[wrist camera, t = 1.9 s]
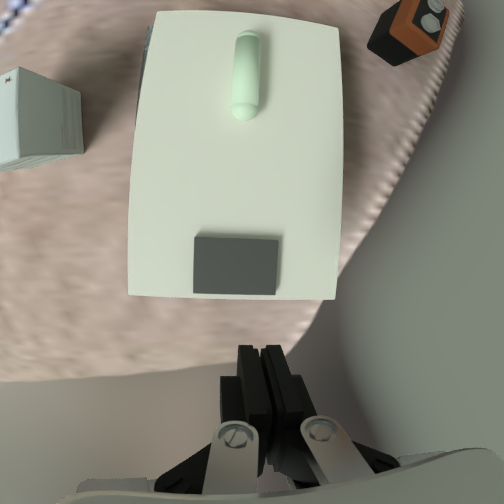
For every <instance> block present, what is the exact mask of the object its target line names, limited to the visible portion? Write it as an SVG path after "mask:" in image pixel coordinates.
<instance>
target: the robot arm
mask: <svg viewBox="0 0 504 504" xmlns="http://www.w3.org/2000/svg"><path fill="white" fill-rule="evenodd" d="M220 416H221V424H220V425H219V426H218V427H217V428H216V429H215V431H214V433H213V438H212V442H211V443H210V444H209V445H207V446H206V447H204V448H203V449H201V450H200V451H198V452H197V453H196V454H194V455H192V456H191V457H189V458H188V459H186V460H185V461H183V462H182V463H180V464H179V465H177V466H175V467H174V468H172V469H171V470H169V471H168V472H166V473H164V474H163V475H161V476H160V477H159V478H158V479H154V480H147V478H124V479H87V480H85V481H83V482H81V483H80V484H79V486H78V487H77V491H76V493H74V494H70V495H67V496H65V497H63V498H61V499H60V500H59V501H58V502H57V503H56V504H504V460H503V459H502V458H501V457H500V456H499V455H497V454H496V453H495V452H493V451H492V450H489V449H486V448H464V449H458V450H453V451H449V452H445V451H437V452H429V453H422V454H414V455H404V456H399V457H398V458H397V459H395V458H394V457H392V456H390V455H388V454H385V453H382V452H380V451H377V450H374V449H371V448H369V447H367V446H364V445H362V444H359V443H357V442H354V441H352V440H350V438H349V437H348V436H347V434H346V433H345V431H344V430H343V428H342V427H341V426H340V424H339V423H338V422H337V421H335V420H334V419H332V418H329V417H326V416H317V413H316V411H315V408H314V406H313V403H312V401H311V399H310V396H309V394H308V391H307V389H306V386H305V384H304V381H303V379H302V377H301V375H291V373H290V371H289V367H288V365H287V362H286V359H285V356H284V354H283V351H282V348H281V346H280V345H266V348H263V349H261V354H260V356H259V352H258V349H253V346H252V345H239V346H238V361H237V376H220ZM265 458H267V463H268V465H273V467H274V472H281V473H282V474H284V475H286V476H287V481H288V484H289V486H290V489H291V490H289V491H281V492H269V493H257V478H258V477H259V476H260V475H261V474H262V472H263V467H264V464H265Z"/></svg>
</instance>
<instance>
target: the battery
mask: <svg viewBox="0 0 504 504" xmlns="http://www.w3.org/2000/svg"><path fill="white" fill-rule="evenodd" d="M448 17H449V10H448V9H447V8H446V7H445V6H443V4H442V2H441V1H440V0H400V1H399V2H397V3H396V4H394V5H393V6H392V7H390V8H389V9H388V10H386V11H385V12H384V13H382V14H381V16H380V18H379V21H378V23H377V25H376V27H375V29H374V31H373V33H372V35H371V37H370V40H369V42H368V44H367V48H368V49H369V50H371V51H372V52H374V53H375V54H377V55H378V56H379V57H381V58H382V59H384V60H385V61H386V62H388V63H389V64H391V65H392V66H397V65H400V64H402V63H404V62H407V61H409V60H411V59H414V58H416V57H419V56H421V55H424V54H426V53H429V52H431V51H434V50H436V49H438V48H439V46H440V43H441V40H442V37H443V34H444V31H445V27H446V24H447V20H448Z"/></svg>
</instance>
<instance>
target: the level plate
mask: <svg viewBox="0 0 504 504" xmlns="http://www.w3.org/2000/svg"><path fill="white" fill-rule="evenodd" d="M342 189H343V97H342V74H341V57H340V43H339V31H338V28H335V27H331V26H327V25H322V24H318V23H313V22H308V21H303V20H297V19H291V18H285V17H278V16H271V15H263V14H254V13H243V12H229V11H203V10H183V11H157V14H156V18H155V22H154V27H153V31H152V35H151V40H150V44H149V49H148V54H147V59H146V64H145V69H144V74H143V80H142V86H141V92H140V98H139V105H138V112H137V119H136V127H135V136H134V145H133V155H132V166H131V179H130V194H129V215H128V295H140V296H159V297H181V298H209V299H255V300H326V299H328V300H329V299H335V293H336V283H337V272H338V260H339V247H340V232H341V214H342Z"/></svg>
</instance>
